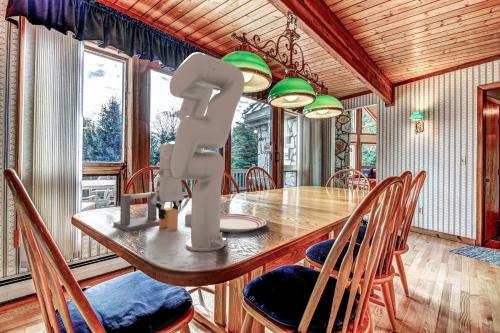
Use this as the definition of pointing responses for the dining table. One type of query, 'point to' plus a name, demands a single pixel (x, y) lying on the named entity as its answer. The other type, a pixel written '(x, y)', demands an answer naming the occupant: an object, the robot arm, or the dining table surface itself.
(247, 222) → the dinner plate
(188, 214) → the charger
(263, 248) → the dining table surface
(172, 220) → the orange rectangular block
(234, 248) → the dining table surface
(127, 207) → the stand
